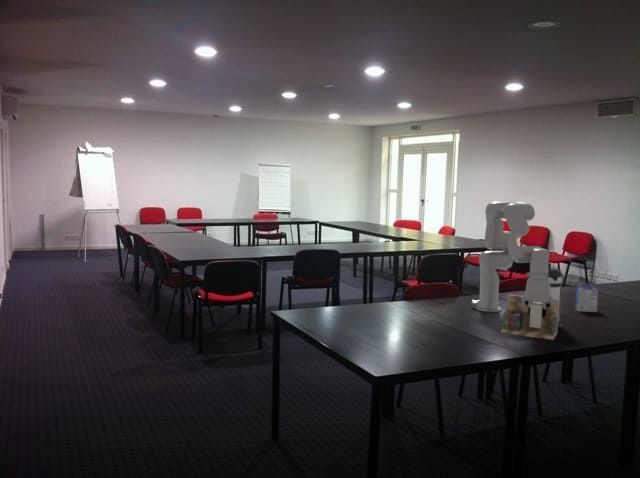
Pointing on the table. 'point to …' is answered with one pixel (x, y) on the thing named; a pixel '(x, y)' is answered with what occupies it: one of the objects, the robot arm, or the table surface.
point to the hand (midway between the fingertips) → (536, 316)
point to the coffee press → (555, 286)
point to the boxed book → (536, 315)
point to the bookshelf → (528, 319)
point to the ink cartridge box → (586, 299)
